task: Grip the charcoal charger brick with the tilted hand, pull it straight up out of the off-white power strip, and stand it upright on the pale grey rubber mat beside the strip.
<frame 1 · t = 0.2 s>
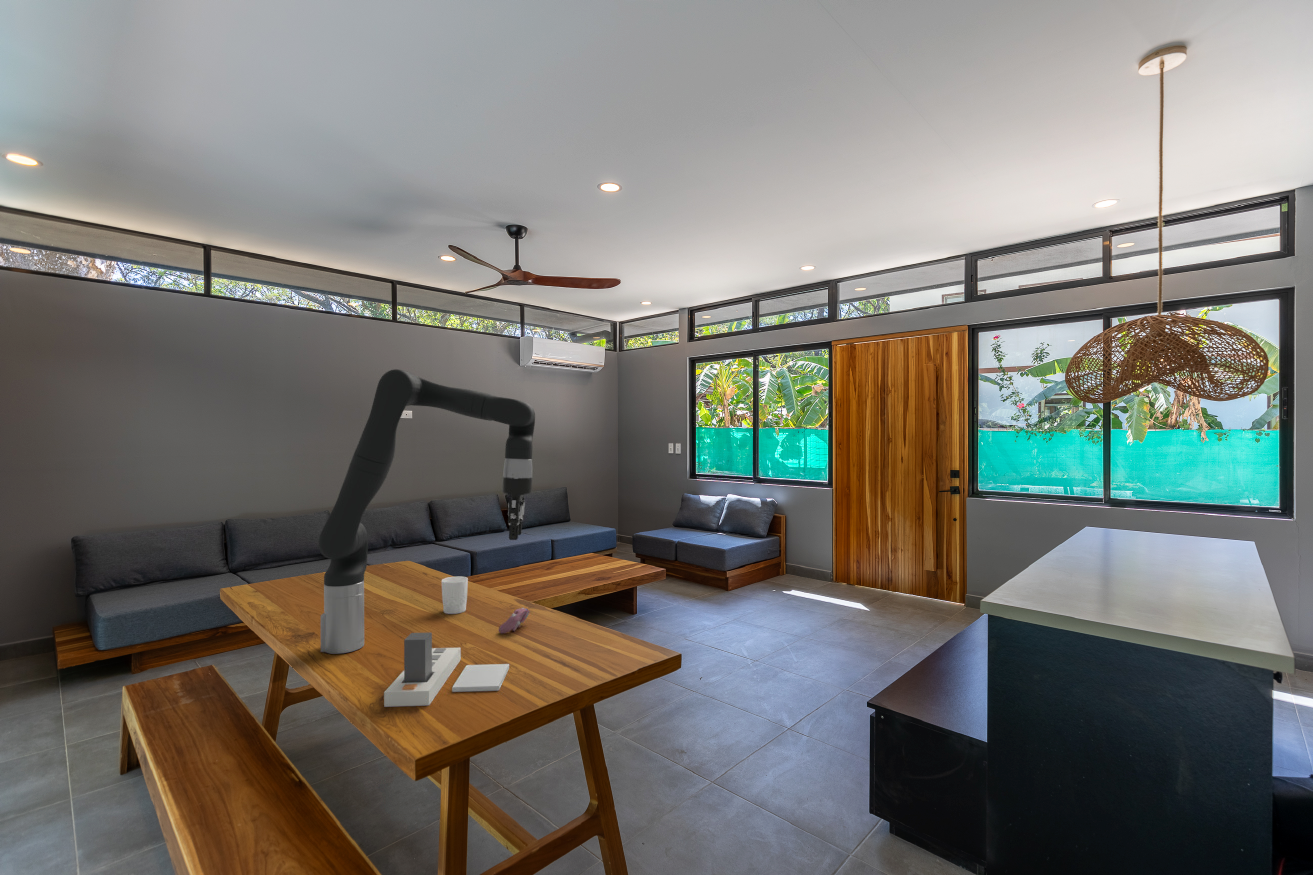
hand: (515, 537, 152), 29 cm above the table, tool pointing down, fingers open, 8 cm apart
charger: (418, 690, 126), resting in power strip
white cup: (454, 611, 182), on the table
mat: (482, 679, 131), on the table
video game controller: (515, 629, 165), on the table
power strip: (426, 680, 131), on the table
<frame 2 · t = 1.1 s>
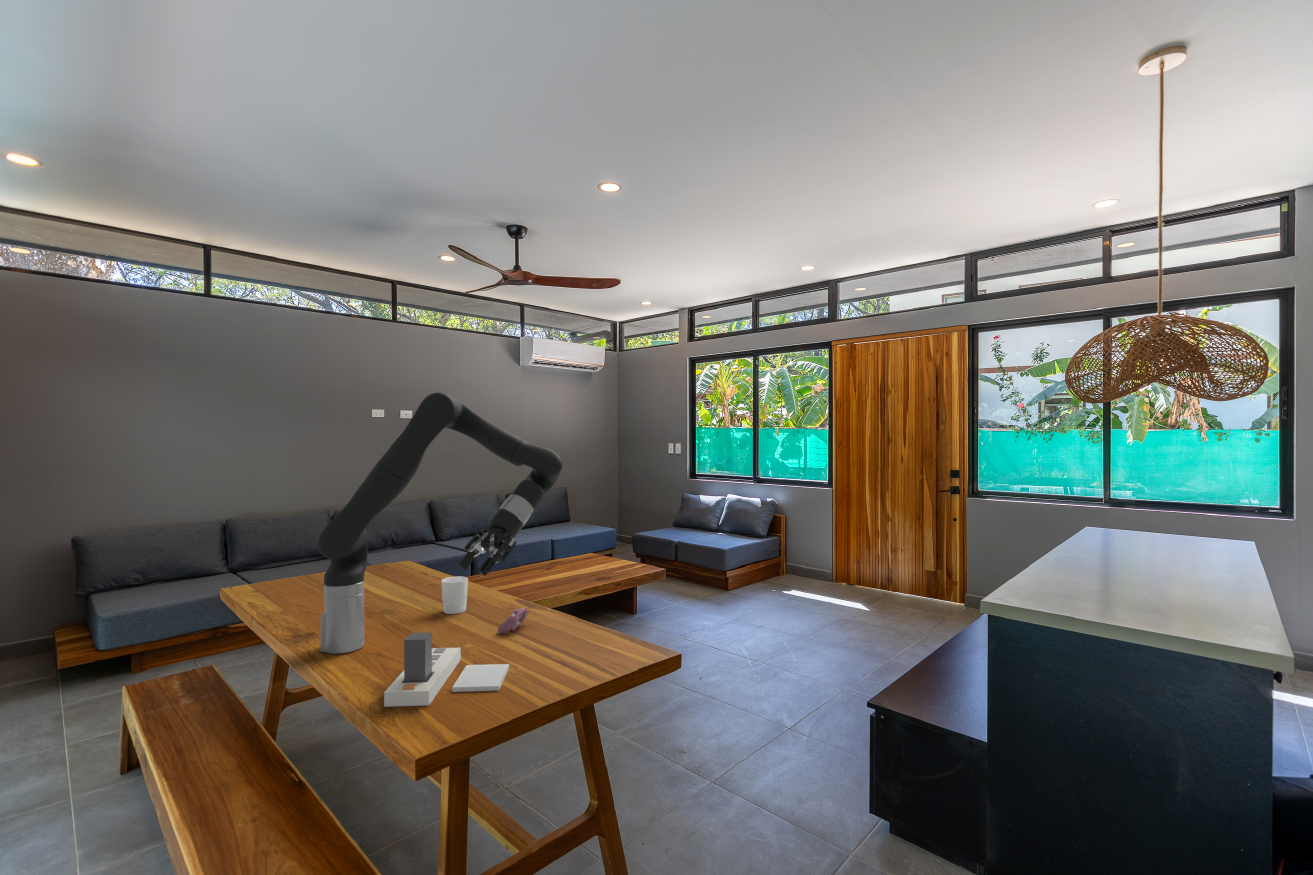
hand: (471, 570, 136), 24 cm above the table, tool tilted 45°, fingers open, 8 cm apart
nothing on the table moved.
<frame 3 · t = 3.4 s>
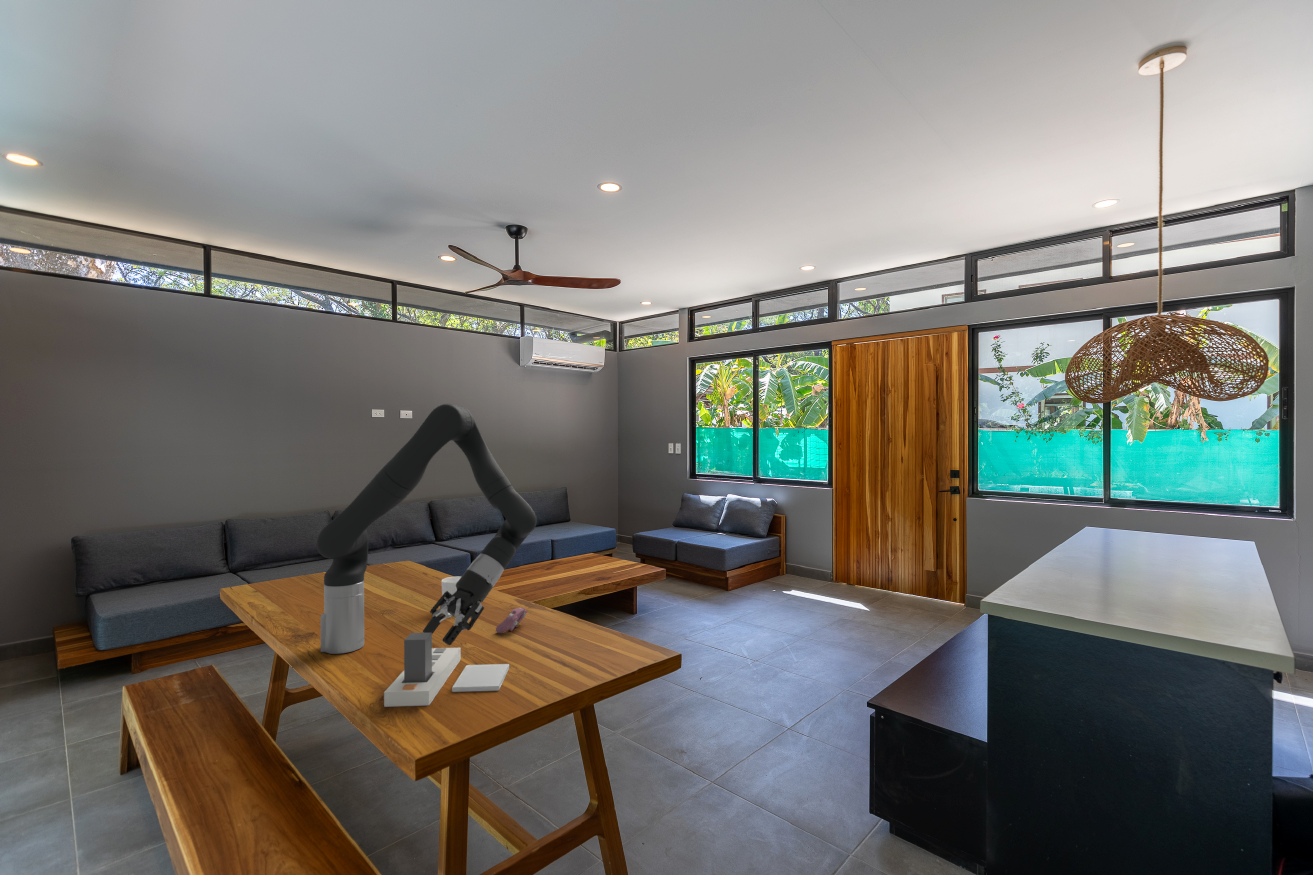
hand: (435, 638, 129), 10 cm above the table, tool tilted 45°, fingers open, 8 cm apart
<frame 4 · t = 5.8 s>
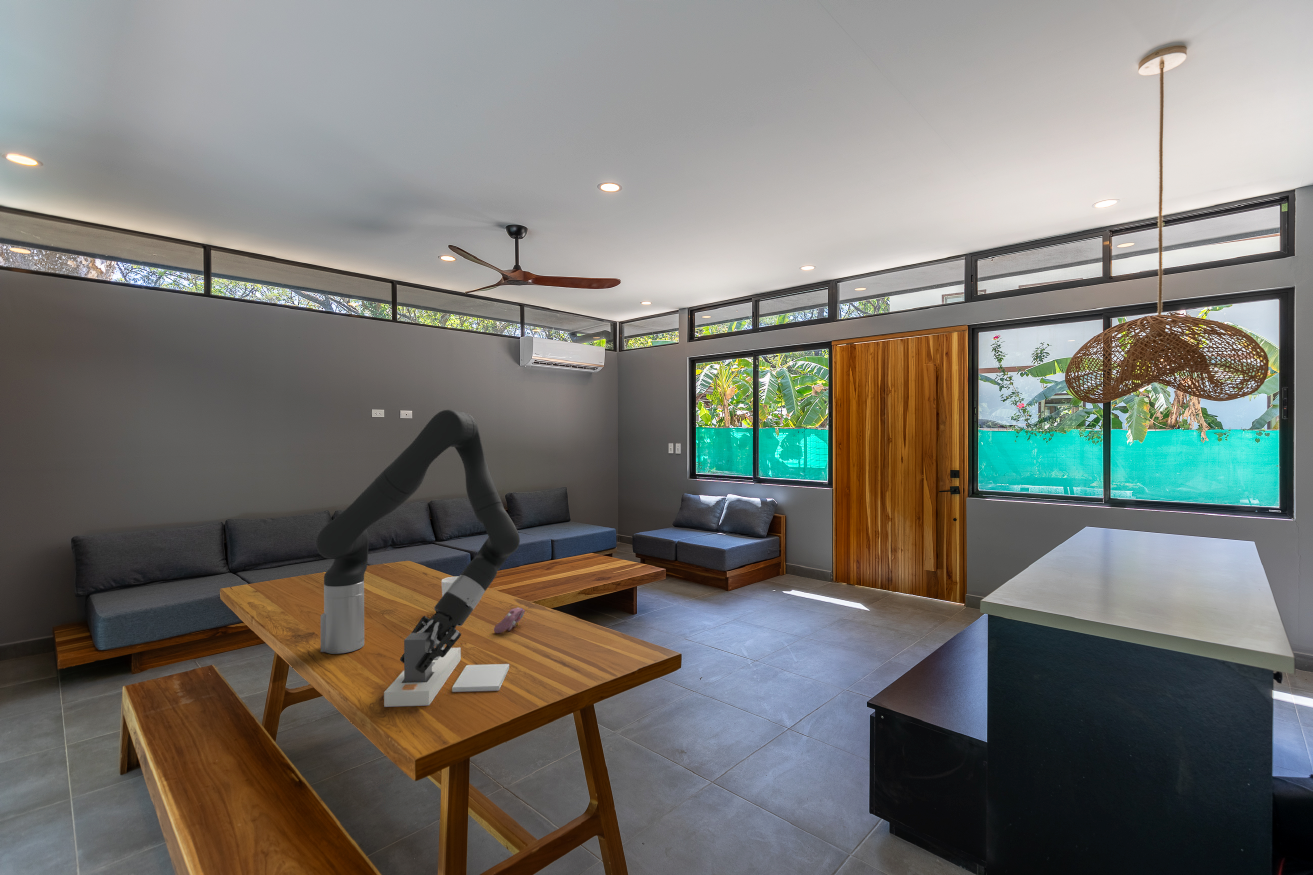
hand: (411, 666, 124), 6 cm above the table, tool tilted 45°, fingers closed on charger, 6 cm apart
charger: (418, 690, 126), resting in power strip, touching gripper
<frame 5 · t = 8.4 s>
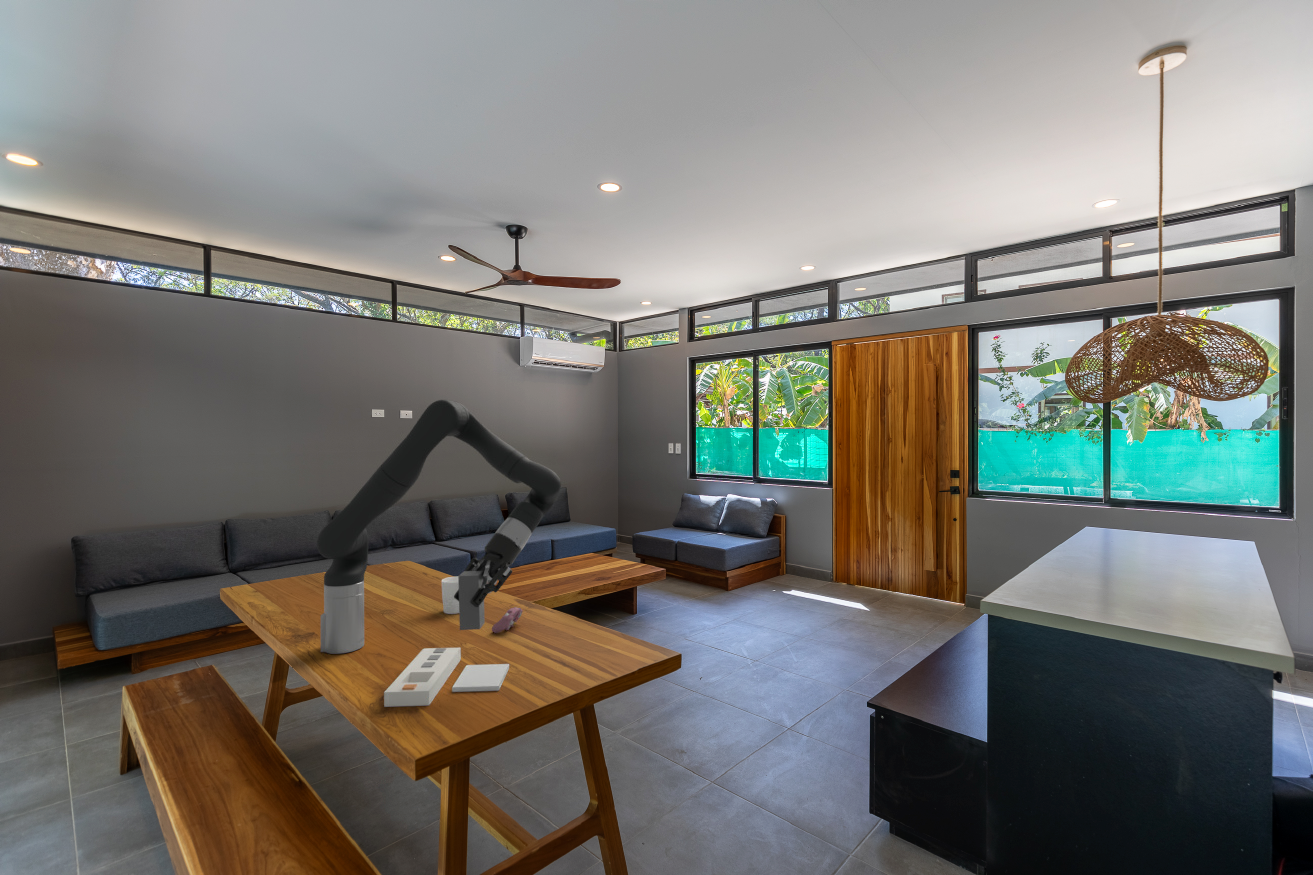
hand: (465, 602, 129), 18 cm above the table, tool tilted 45°, fingers closed on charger, 6 cm apart
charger: (472, 626, 130), point 13 cm above the table, touching gripper
when the fingers open (8 cm above the table, at t = 11.5 s): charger stays where it is, resting on mat.
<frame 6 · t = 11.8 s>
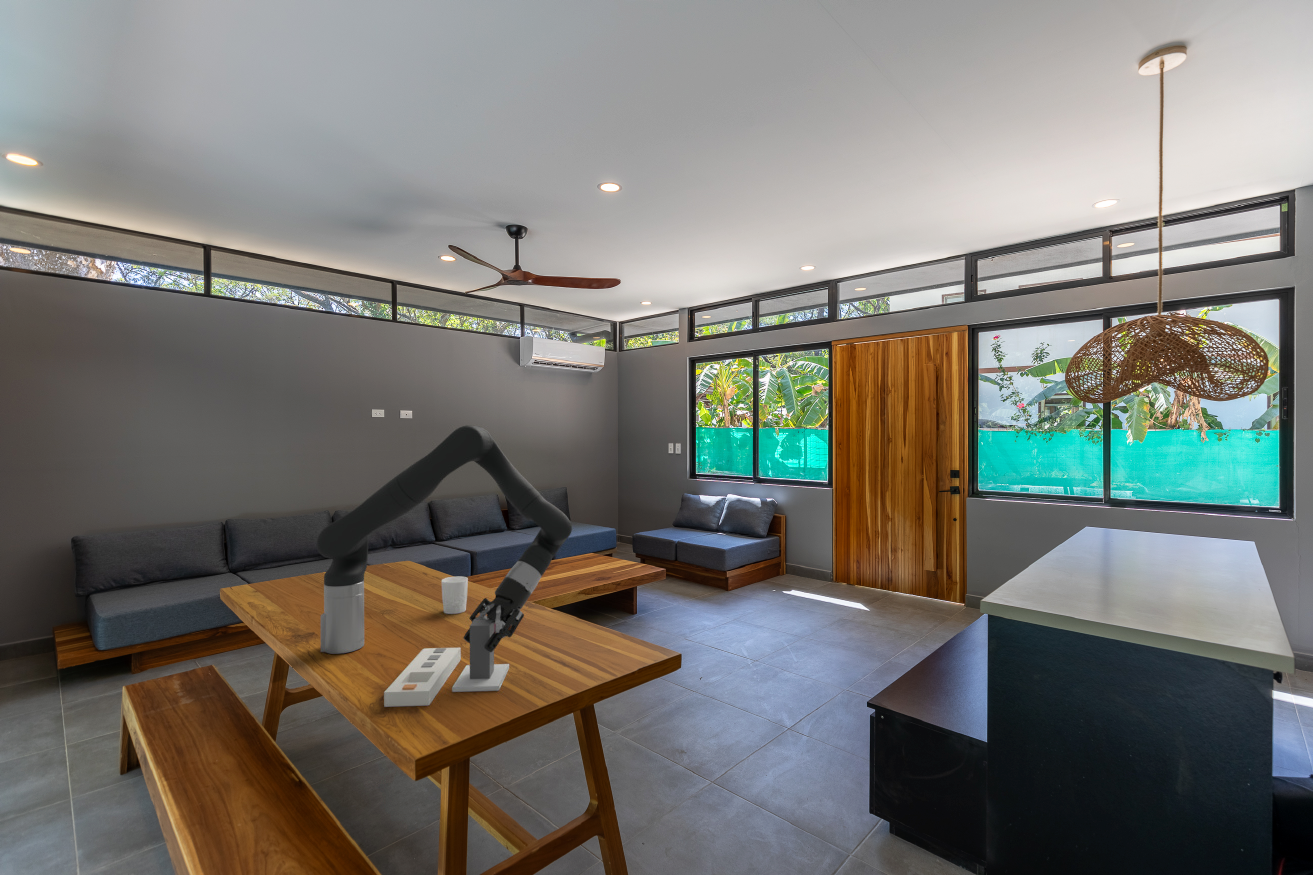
hand: (476, 645, 130), 8 cm above the table, tool tilted 45°, fingers open, 8 cm apart
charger: (482, 674, 132), point 1 cm above the table, touching mat
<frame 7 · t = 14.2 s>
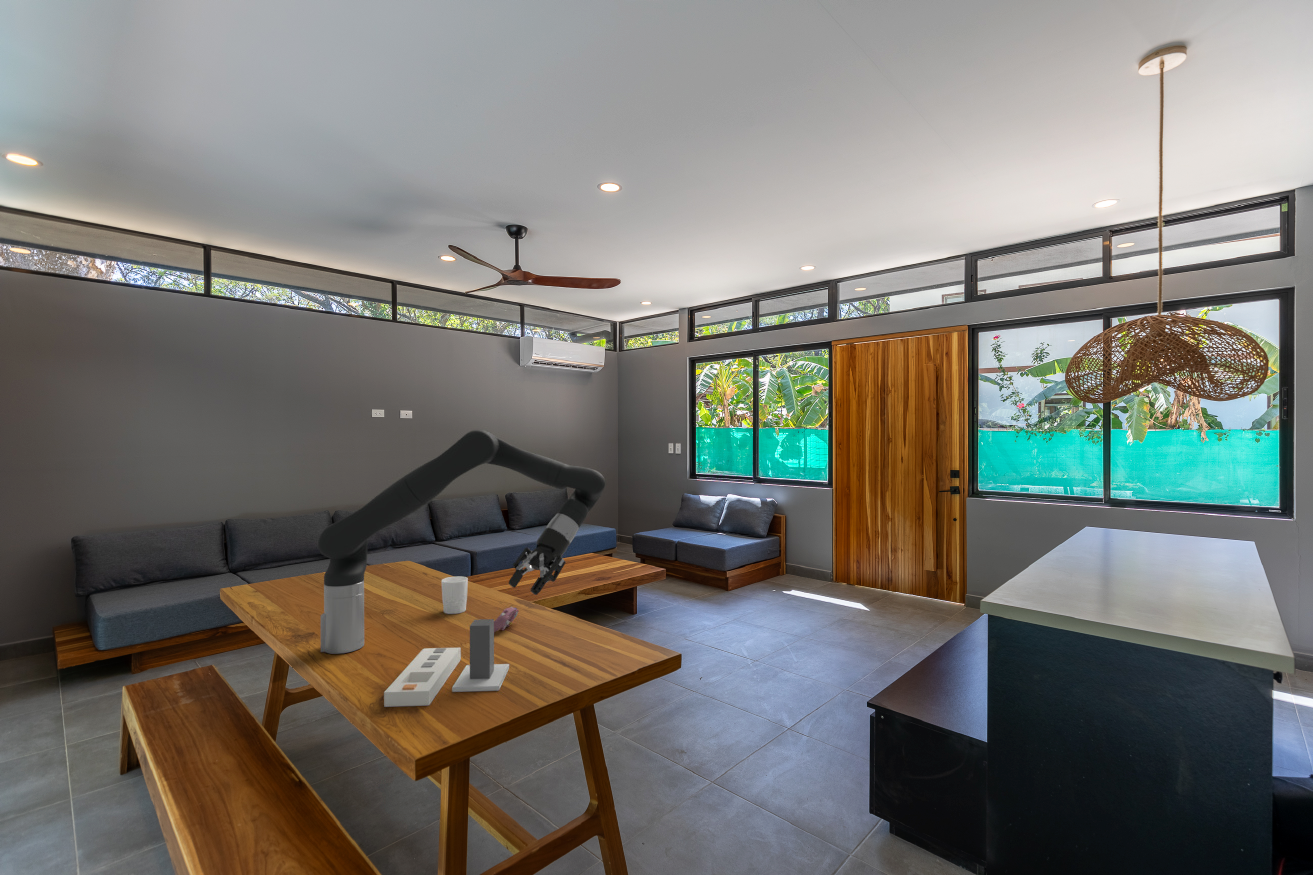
hand: (522, 589, 140), 18 cm above the table, tool tilted 45°, fingers open, 8 cm apart
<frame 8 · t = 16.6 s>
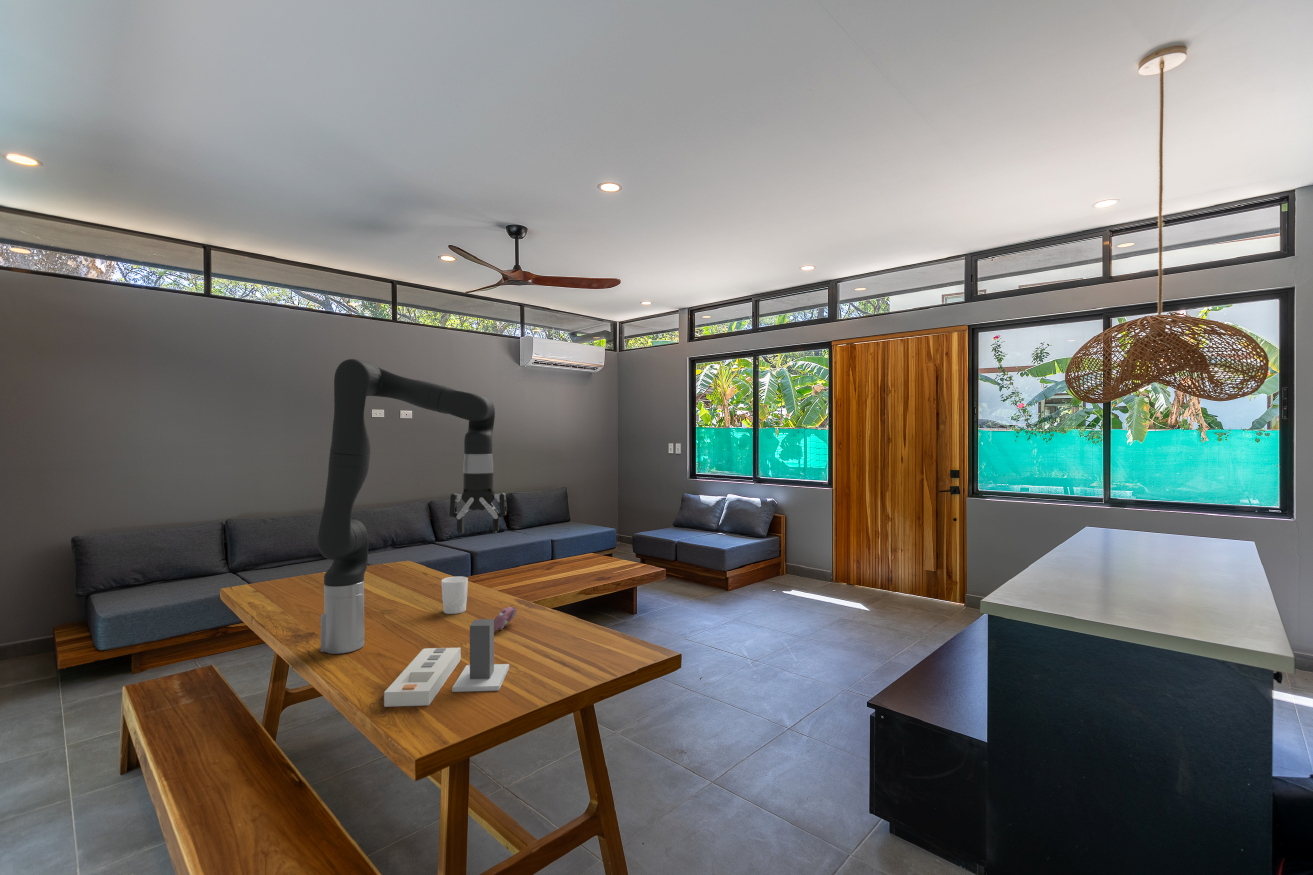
hand: (478, 532, 151), 30 cm above the table, tool pointing down, fingers open, 8 cm apart
at the end: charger inside the target area on the mat (0.1 cm from its centre), point 1.0 cm above the mat's base; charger tilted 0°; the gripper is holding nothing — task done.
